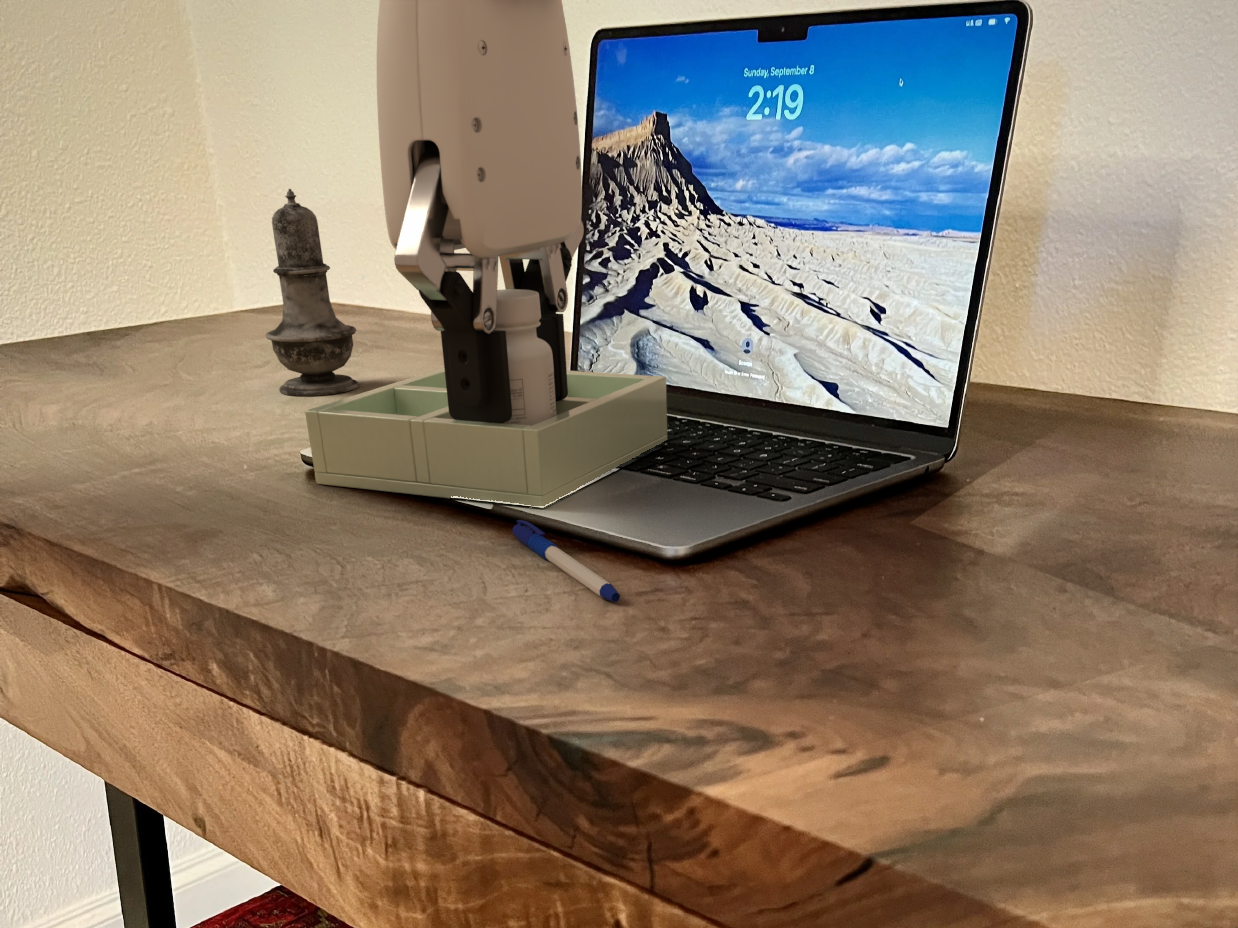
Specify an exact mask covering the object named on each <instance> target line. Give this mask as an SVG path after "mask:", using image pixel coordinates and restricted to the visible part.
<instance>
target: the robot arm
mask: <svg viewBox="0 0 1238 928" xmlns="http://www.w3.org/2000/svg"><path fill="white" fill-rule="evenodd" d="M378 3H379V5H378V18H377V33H376V103H377V105H376V106H377V125H378V142H379V145H378V146H379V159H380V173H381V183H382V194H383V195H382V196H383V205H384V206H383V207H384V215H385V221H386V229H387V234H388V239H389V241H390V244H391V245H392V247H393V249H394V250H395V252H394V256H393V257H394V258H393V259H394V265H395V269H396V270H397V272H398V273H399V274H400V275H401V276H402V277H403V278H405V280H406V281H407V282H409V283H410V285H411V286H413V287H414V288H415V289H416V290H417V291H418V295H419V296H420V298H421V299H422V301H423V302H424V303H425V304H426V306H427V307H428V308H429V310H430V322H431V325H432V326H433V329H435V330H436V331H438V332H440V338H441V339H440V340H441V347H442V348H441V349H442V359H443V367H444V369H445V379H446V388H447V398H448V408H449V414H450V416H451V417H452V418H453V419H455V420H463V421H475V422H488V423H500V424H501V423H504V422H507V421H509V420H510V419H511V417H512V404H511V392H510V379H509V367H508V354H507V341H506V331H502V330H494V329H495V326H496V314H497V290H498V283H499V262H500V267H501V268H500V269H501V273H502V277H503V278H502V279H503V284H504V288H505V289H520V290H532V291H536V292H538V293H539V299H540V311H541V318H540V320H539V322H540V323H541V325H540V326H538V327H536V334H537V338H540V339H542V340H544V341H545V342H547V343H548V344H549V346H550V347H551V350H552V355H553V366H554V383H555V400H556V402H557V401H560V400H563V399H565V398H566V397H567V395H568V386H567V371H568V370H567V369H568V368H567V354H566V338H565V337H566V336H565V322H564V321H565V320H564V312H565V311H566V310H567V308H568V305H569V293H568V288H567V280H568V277H569V275H570V272H571V269H572V266H573V263H572V262H573V258H574V256H575V254H576V253H577V250H578V248H579V246H580V244H581V241H582V240H583V237H584V232H585V230H584V229H585V228H584V222H583V220H582V213H583V210H582V209H583V184H582V183H583V180H582V178H583V177H582V160H581V159H582V157H581V141H580V131H579V119H578V118H579V117H578V108H577V99H576V97H577V96H576V90H575V89H576V88H575V79H574V72H573V64H572V55H571V48H570V43H569V37H568V36H569V35H568V29H567V23H566V18H565V11H564V6H563V5H564V4H563V1H562V0H379V2H378ZM463 249H466V251H467V253H466V252H455V251H457V250H463ZM524 260H528V262H527V264H526V268H525V265H524ZM459 271H460V272H472V274H473V275H472V289H471V288H470V286H469V284H468V283H467V282H466V280H465V279H464V277H463V276H462V274H461V273H460V272H459Z"/></svg>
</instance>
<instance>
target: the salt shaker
mask: <svg viewBox="0 0 1238 928" xmlns="http://www.w3.org/2000/svg"><path fill="white" fill-rule="evenodd" d="M284 197H285V198H286V199H287V203H284V205H283V206H282V207H280V208H278V209H277V210H275V211H274V213H273V215H272V217H271V227H272V232H273V233H272V234H273V239H274V245H275V252H276V258H277V265H278V266H276V267H275V268H273V271H272V272H273V273H274V274H276V275H277V276H278V279H279V285H280V291H281V298H282V318H281V322H279V324H278V326H276V328H275V329H272V330H269V331H267V332H266V333H265V338H266V339H267V340H269V341H271V346H272V351H273V353H274V354H275V356H276V358H277V360H278V361H279V363H280V364H281V365H282V366H284V368H286V369H287V370H288V371H290V372H294V373H298V374H300V376H297V377H293V378H290V379H287V380H286V381H284V384H282V385H280V387H279V388H278V391H279V392H280V393H281V394H283V395H287V396H295V397H297V396H298V397H314V396H315V397H316V396H327V395H328V396H329V395H335V394H341V393H345V392H350V391H353V390H356V389H358V388H360V387H359V386H360V383H359V382H358V381H357V380H356V379H353V378H352V377H351V376H349V375H347V374H338V373H335V371H337V370H339V369H341V368H343V367H344V366H346V364H347V363H348V361H349V360H350V358H351V357H352V353H353V349H354V348H353V347H354V339H353V335H355V334H356V332H357V328H356V327H355V326H353V325H350V324H345V323H344V322H343V321H341V320H340V319H339V318H338V317H337V315H336V314H335V311H334V308H333V305H332V302H331V298H330V292H329V286H328V285H329V284H328V278H327V277H328V276H327V273H328V271H330V270H331V266H330V265H327V264H326V263H324V258H323V251H322V244H321V237H320V230H319V223H318V219H317V215H316V214H315V213H314V212H313V211H312V210H311V209H309V208H308V207H306V206H302V205H301V204H300V203H298V202H296V197H297V195H296V194H295V192H294V191H293V190H292V189H291V188H288V191H286V195H284Z"/></svg>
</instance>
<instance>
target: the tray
mask: <svg viewBox="0 0 1238 928" xmlns="http://www.w3.org/2000/svg"><path fill="white" fill-rule="evenodd" d="M567 386H568V395H567V397H566V398H565V399H563V400H560V401H557V402H556V415H557V416H554V417H552V418H550V419H547V420H545V421H542V422H540V423H537V424H535V425H532V426H530V425H518V424H506V423H501V424H500V423H488V422H475V421H463V420H455V419H453V418H452V417H451V416H450V414H449V408H448V398H447V388H446V379H445V369H444V366H443V367H439V368H437V369H434V370H431V371H428V372H425V373H421V374H418V375H415V376H412V377H409V378H405V379H403V380H399V381H396V382H392V383H390V384H385V385H383V386H380V387H377V388H374V389H371V390H367V391H364V392H361V393H357V394H354V395H351V396H348V397H345V398H342V399H339V400H336V401H332V402H329V403H326V404H321V405H319V406H315V407H312V408H309V409H307V410H305V411H304V413H305V419H306V425H307V432H308V439H309V440H308V441H309V446H310V452H311V459H312V464H313V471H314V478H315V483H316V484H317V485H325V486H332V487H333V486H334V487H342V488H351V489H359V490H360V489H361V490H368V491H369V490H370V491H379V492H389V493H397V494H407V495H414V496H423V497H424V496H425V497H433V498H441V499H450V498H451V496H452V497H453V496H458V497H460V496H461V497H464V498H466V497H467V498H468V499H469V498H471V499H473V498H474V499H480V500H490V501H491V500H493V501H495V500H496V501H503V502H510V503H519V504H524V505H531V506H545V505H546V504H549V503H550V502H553V501H555V500H556V499H559V497H562V496H564V495H566V494H568V493H570V492H571V491H574V490H576V489H577V488H579V487H580V486H582V485H585V484H586V483H588V482H590V481H592V480H594V479H595V478H597V477H600V476H601V475H602V474H605V473H606V472H608V471H611V470H612V469H614V468H616V467H618V466H619V465H620V464H623V463H625V462H627V461H629V460H631V459H632V458H635V457H636V456H639V455H640V454H641V453H643V452H645V451H647V450H649V449H651V448H653V447H655V446H656V445H659V444H661V443H662V442H664V441H666V440H668V439H669V438H668V405H667V404H668V401H667V400H668V399H667V377H666V376H661V375H646V374H645V375H644V374H628V373H613V372H612V373H611V372H610V373H609V372H595V371H581V370H567Z"/></svg>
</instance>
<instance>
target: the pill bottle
mask: <svg viewBox="0 0 1238 928" xmlns="http://www.w3.org/2000/svg"><path fill="white" fill-rule="evenodd" d="M540 318H541V311H540V299H539V293H538V292H536V291H532V290H520V289H506V288H505V289H497V314H496V326H495V329H494V330H502V331H506V341H507V354H508V367H509V379H510V392H511V404H512V417H511V419H510V420H509V421H507V422H504V423H506V424H518V425H530V426H532V425H535V424H537V423H540V422H542V421H545V420H547V419H550V418H552V417H554V416H557V415H556V400H555V383H554V366H553V355H552V350H551V347H550V346H549V344H548V343H547V342H545V341H544V340H542V339H540V338H537V334H536V327H538V326H540V325H541V323H540V322H539V320H540Z"/></svg>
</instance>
